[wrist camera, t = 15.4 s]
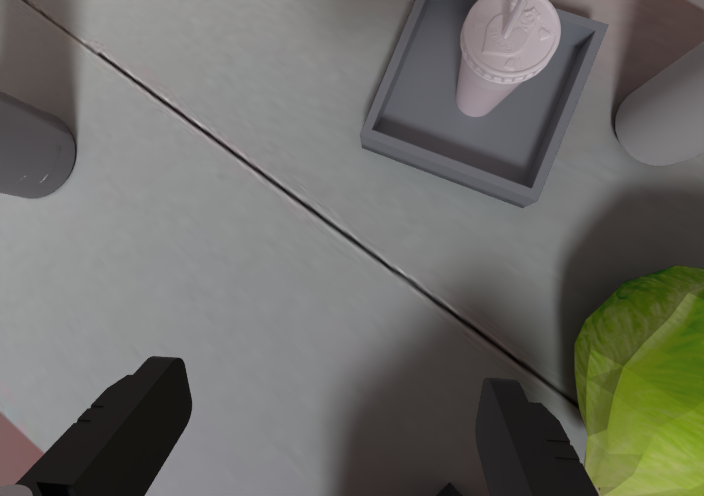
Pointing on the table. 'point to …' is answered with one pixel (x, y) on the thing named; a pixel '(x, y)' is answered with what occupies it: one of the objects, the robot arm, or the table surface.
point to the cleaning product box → (449, 491)
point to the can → (666, 114)
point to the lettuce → (645, 386)
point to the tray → (476, 132)
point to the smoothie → (503, 50)
